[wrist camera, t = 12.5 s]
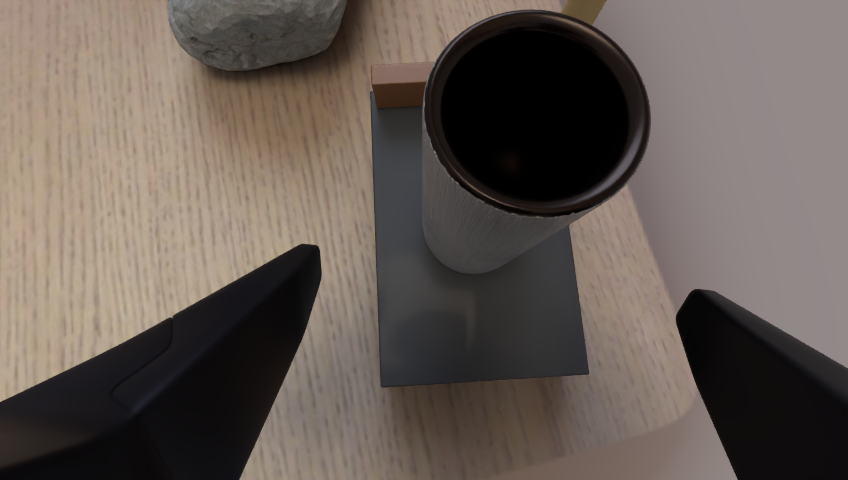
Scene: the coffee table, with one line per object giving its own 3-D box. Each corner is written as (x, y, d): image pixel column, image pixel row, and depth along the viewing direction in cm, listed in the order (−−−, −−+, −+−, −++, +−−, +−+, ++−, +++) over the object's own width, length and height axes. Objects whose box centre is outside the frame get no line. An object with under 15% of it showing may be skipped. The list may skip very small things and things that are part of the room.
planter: (459, 161, 18) (505, -32, 8) (539, 215, 18) (696, 82, 8) (402, 236, 17) (375, 128, 7) (484, 295, 17) (576, 266, 7)
